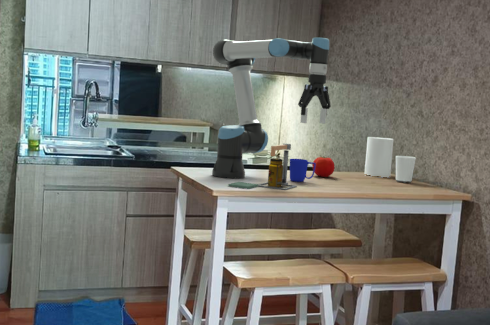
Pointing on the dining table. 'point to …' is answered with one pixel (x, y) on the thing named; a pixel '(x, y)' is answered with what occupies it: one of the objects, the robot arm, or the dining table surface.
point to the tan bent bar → (280, 148)
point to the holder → (276, 187)
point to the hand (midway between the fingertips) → (313, 123)
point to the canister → (379, 156)
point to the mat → (243, 185)
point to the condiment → (275, 173)
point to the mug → (299, 169)
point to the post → (285, 167)
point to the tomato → (323, 166)
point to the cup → (404, 168)
